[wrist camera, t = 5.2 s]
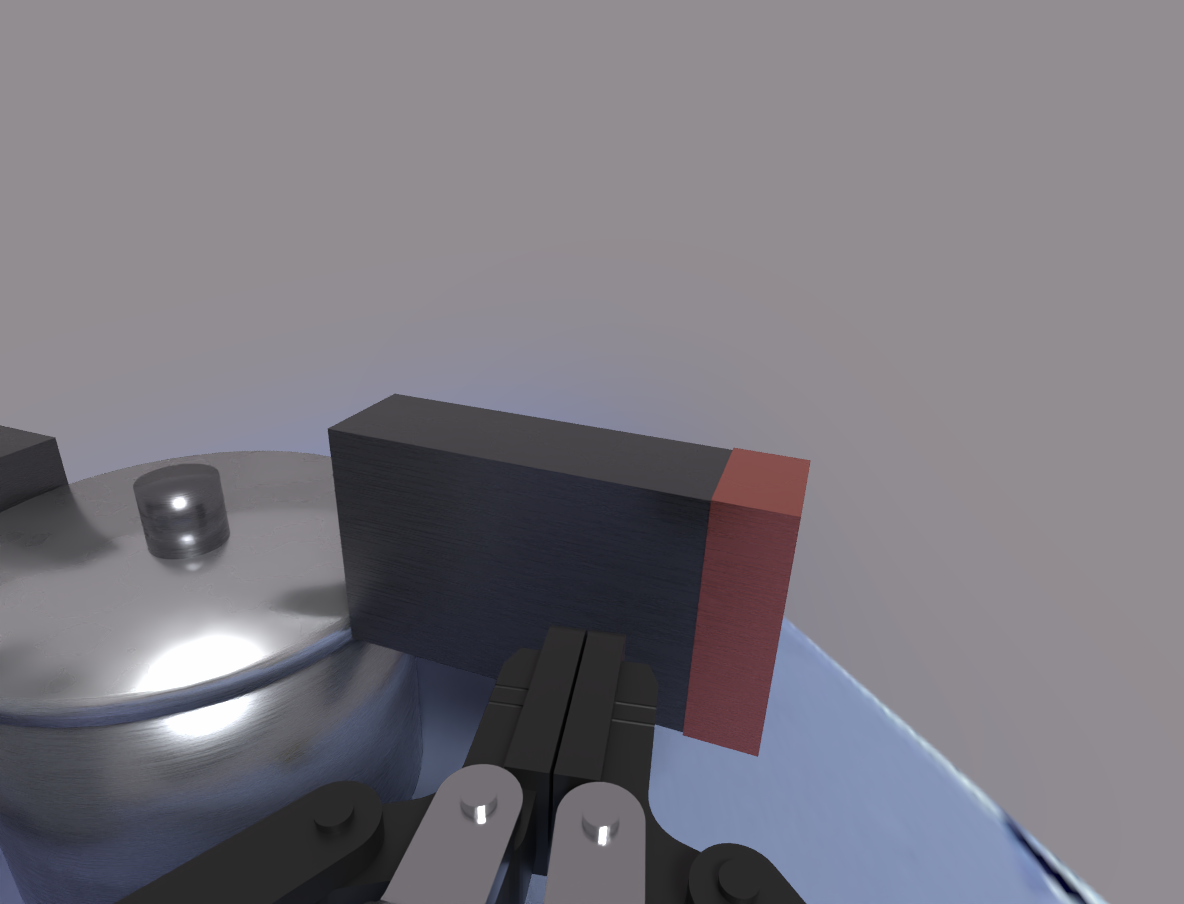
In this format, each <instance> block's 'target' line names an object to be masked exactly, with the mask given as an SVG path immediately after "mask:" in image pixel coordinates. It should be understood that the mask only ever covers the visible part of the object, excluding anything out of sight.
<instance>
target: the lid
mask: <svg viewBox="0 0 1184 904" xmlns="http://www.w3.org/2000/svg"><path fill="white" fill-rule="evenodd" d="M328 435H329V444H330V451H331V457H328V456H322V455H316V454H307V453H298V452H283V451H239V452H223V453H212V454H203V455H193V456H187V457H180V458H173V459H167V460H161V461H156V462H151V463H146V464H141V465H136V466H132V467H128V468H124V469H120V470H116V471H112V472H108V473H104V474H101V475H97V476H94V477H90V478H87V479H84V480H81V481H78V482H75V483H72V484H69V485H68V481H67V478H66V474H65V471H64V468H63V464H62V460H61V457H60V453H59V450H58V446H57V442H56V439H55V438H54V437H50V436H45V435H41V434H36V433H32V432H27V431H23V430H18V429H14V428H9V427H4V426H0V724H6V725H12V726H19V727H42V728H71V727H89V726H104V725H111V724H118V723H126V722H133V721H140V720H147V719H151V718H156V717H161V716H165V715H170V714H174V713H179V712H184V711H188V710H192V709H195V708H199V707H202V706H206V705H209V704H212V703H216V702H219V701H223V700H226V699H229V698H233V697H235V696H238V695H241V694H243V693H246V692H249V691H251V690H254V689H257V688H259V687H262V686H265V685H267V684H270V683H272V682H274V681H276V680H279V679H281V678H283V677H285V676H287V675H289V674H292V673H294V672H296V671H298V670H300V669H302V668H305V667H307V666H308V665H310V664H312V663H314V662H315V661H317V660H319V659H321V658H322V657H324V656H326V655H328V654H329V653H331V652H333V651H335V650H336V649H338V648H339V647H341V646H342V645H344V644H345V643H347V642H348V641H349V640H351V639H352V638H354V639H357V640H361V641H364V642H368V643H371V644H375V645H378V646H382V647H385V648H389V649H392V650H396V651H399V652H403V653H406V654H410V655H413V656H417V657H420V658H424V659H428V660H431V661H435V662H438V663H442V664H445V665H449V666H452V667H456V668H459V669H463V670H466V671H470V672H473V673H477V674H480V675H484V676H487V677H491V678H494V679H498V676H499V674H500V671H501V669H502V666H503V664H504V663H505V662H506V661H507V660H508V659H509V658H510V657H511V656H512V655H513V654H515V653H516V652H517V651H518V650H519V649H520V648H527V649H534V650H542V648H543V645H544V642H545V639H546V636H547V633H548V630H549V627H550V626H551V625H555V626H563V627H570V628H578V629H586V630H587V636H588V632H589V630H595V631H603V632H611V633H619V634H626V644H625V657H624V661H626V662H633V663H641V664H648V665H650V667H651V670H652V672H653V674H654V676H655V678H656V681H657V683H658V694H657V705H656V716H655V724H656V725H659V726H663V727H666V728H670V729H673V730H677V731H680V732H683V735H684V736H688V737H691V738H695V739H698V740H702V741H705V742H709V743H712V744H716V745H719V746H723V747H726V748H730V749H733V750H737V751H740V752H744V753H747V754H751V755H754V756H758V754H759V748H760V743H761V737H762V731H763V726H764V720H765V715H766V709H767V704H768V698H769V692H770V687H771V681H772V676H773V670H774V664H775V659H776V653H777V648H778V642H779V636H780V631H781V625H782V620H783V614H784V609H785V603H786V597H787V592H788V586H789V581H790V575H791V569H792V564H793V558H794V553H795V547H796V542H797V536H798V530H799V525H800V519H801V513H802V507H803V501H804V496H805V490H806V483H807V477H808V472H809V466H810V460H804V459H798V458H792V457H786V456H780V455H774V454H768V453H762V452H756V451H750V450H744V449H738V448H733V450H729V449H723V448H717V447H711V446H705V445H699V444H693V443H687V442H681V441H675V440H668V439H663V438H657V437H651V436H645V435H639V434H633V433H627V432H621V431H615V430H609V429H603V428H597V427H591V426H585V425H579V424H573V423H567V422H561V421H555V420H549V419H543V418H537V417H531V416H525V415H519V414H513V413H507V412H501V411H494V410H489V409H483V408H477V407H471V406H465V405H459V404H453V403H447V402H441V401H435V400H429V399H423V398H416V397H411V396H405V395H399V394H394V395H392V396H390V397H388V398H386V399H384V400H382V401H380V402H378V403H376V404H374V405H372V406H370V407H369V408H367V409H365V410H363V411H361V412H359V413H357V414H355V415H353V416H351V417H349V418H348V419H346V420H344V421H342V422H340V423H338V424H336V425H334V426H332V427H330V428H328Z"/></svg>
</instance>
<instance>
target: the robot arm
mask: <svg viewBox="0 0 1184 904" xmlns="http://www.w3.org/2000/svg"><path fill="white" fill-rule="evenodd" d="M625 644H626V634H619V633H611V632H603V631H595V630H589V632H588V636H587V630H586V629H578V628H570V627H563V626H555V625H551V626H550V627H549V630H548V633H547V636H546V639H545V642H544V645H543V648H542V650H534V649H527V648H520V649H519V650H518V651H517V652H516V653H515V654H513V655H512V656H511V657H510V658H509V659H508V660H507V661H506V662H505V663H504V664H503V666H502V669H501V671H500V674H499V676H498V679H497V682H496V685H495V688H494V689H493V692H492V694H491V697H490V699H489V704H488V705H487V707H486V709H485V712H484V714H483V717H482V720H481V722H480V725H479V727H478V730H477V732H476V735H475V737H474V740H473V742H472V745H471V747H470V750H469V753H468V755H467V758H466V760H465V763H464V765H463V767H462V769H460V770H458V771H456V772H454V773H453V774H451V775H450V776H449V777H448V778H446V780H445V781H444V782H443V783H442V784H441V786H440V787H439V789H438V790H437V792H436V793H434V794H431V795H429V796H426V797H423V798H419V799H414V800H408V801H400V802H393V803H385V804H382V803H381V800H380V797H379V796H378V794H377V793H376V792H375V791H374V790H373V789H372V788H371V787H369V786H368V785H366V784H364V783H361V782H357V781H337V782H332V783H329V784H326V785H323V786H321V787H319V788H317V789H315V790H313V791H311V792H310V793H308V794H306V795H304V796H303V797H301V798H299V799H297V800H295V801H294V802H292V803H290V804H288V805H287V806H285V807H283V808H281V809H280V810H278V811H276V812H274V813H272V814H271V815H269V816H267V817H265V818H264V819H262V820H260V821H258V822H257V823H255V824H253V825H251V826H250V827H248V828H246V829H244V830H242V831H241V832H239V833H237V834H235V835H234V836H232V837H230V838H228V839H227V840H225V841H223V842H221V843H219V844H218V845H216V846H214V847H212V848H211V849H209V850H207V851H205V852H204V853H202V854H200V855H198V856H197V857H195V858H193V859H191V860H189V861H188V862H186V863H184V864H182V865H181V866H179V867H177V868H175V869H174V870H172V871H170V872H168V873H166V874H165V875H163V876H161V877H159V878H158V879H156V880H154V881H152V882H151V883H149V884H147V885H145V886H144V887H142V888H140V889H138V890H136V891H135V892H133V893H131V894H129V895H128V896H126V897H124V898H122V899H121V900H119V901H117V902H115V903H113V904H524V903H525V900H526V895H527V891H528V887H529V883H530V879H531V875H532V874H537V875H543V876H547V873H548V877H547V884H546V891H545V898H544V904H806V903H805V902H804V901H803V899H802V898H801V897H800V896H799V895H798V893H797V892H796V891H795V890H794V889H793V887H792V886H791V885H790V884H789V883H788V881H787V880H786V879H785V878H784V877H783V876H782V874H781V873H780V872H779V871H778V870H777V868H776V867H775V866H774V865H773V864H772V863H771V862H770V861H769V860H768V859H767V858H766V857H764V856H763V855H762V854H760V853H759V852H757V851H755V850H753V849H751V848H749V847H746V846H743V845H739V844H732V843H722V844H717V845H713V846H711V847H709V848H707V849H705V850H704V851H702V852H699V851H697V850H695V849H693V848H691V847H689V846H687V845H685V844H683V843H681V842H679V841H678V840H676V839H674V838H673V837H671V836H670V835H669V834H668V833H666V832H665V831H664V830H663V829H662V828H661V826H660V825H659V824H658V823H657V821H656V820H655V818H654V816H653V814H652V812H651V809H650V806H649V800H648V790H649V780H650V769H651V758H652V748H653V737H654V726H655V716H656V705H657V694H658V683H657V681H656V678H655V676H654V674H653V672H652V670H651V667H650V665H648V664H641V663H633V662H626V661H624V657H625Z"/></svg>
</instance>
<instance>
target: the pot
mask: <svg viewBox="0 0 1184 904" xmlns="http://www.w3.org/2000/svg"><path fill="white" fill-rule="evenodd" d="M422 753H423V747H422V733H421V719H420V705H419V691H418V677H417V664H416V656H413V655H410V654H406V653H403V652H399V651H396V650H392V649H389V648H385V647H382V646H378V645H375V644H371V643H368V642H364V641H361V640H357V639H354V638H352V639H351V640H349V641H348V642H347V643H345V644H344V645H342V646H341V647H339V648H338V649H336V650H335V651H333V652H331V653H329V654H328V655H326V656H324V657H322V658H321V659H319V660H317V661H315V662H314V663H312V664H310V665H308V666H307V667H305V668H302V669H300V670H298V671H296V672H294V673H292V674H289V675H287V676H285V677H283V678H281V679H279V680H276V681H274V682H272V683H270V684H267V685H265V686H262V687H259V688H257V689H254V690H251V691H249V692H246V693H243V694H241V695H238V696H235V697H233V698H229V699H226V700H223V701H219V702H216V703H212V704H209V705H206V706H202V707H199V708H195V709H192V710H188V711H184V712H179V713H174V714H170V715H165V716H161V717H156V718H151V719H147V720H140V721H133V722H126V723H118V724H111V725H104V726H89V727H71V728H42V727H19V726H12V725H6V724H0V847H1V849H2V851H3V854H4V856H5V858H6V861H7V863H8V866H9V868H10V870H11V873H12V875H13V878H14V880H15V882H16V885H17V887H18V890H19V892H20V894H21V897H22V899H23V901H24V903H25V904H113V903H115V902H117V901H119V900H121V899H122V898H124V897H126V896H128V895H129V894H131V893H133V892H135V891H136V890H138V889H140V888H142V887H144V886H145V885H147V884H149V883H151V882H152V881H154V880H156V879H158V878H159V877H161V876H163V875H165V874H166V873H168V872H170V871H172V870H174V869H175V868H177V867H179V866H181V865H182V864H184V863H186V862H188V861H189V860H191V859H193V858H195V857H197V856H198V855H200V854H202V853H204V852H205V851H207V850H209V849H211V848H212V847H214V846H216V845H218V844H219V843H221V842H223V841H225V840H227V839H228V838H230V837H232V836H234V835H235V834H237V833H239V832H241V831H242V830H244V829H246V828H248V827H250V826H251V825H253V824H255V823H257V822H258V821H260V820H262V819H264V818H265V817H267V816H269V815H271V814H272V813H274V812H276V811H278V810H280V809H281V808H283V807H285V806H287V805H288V804H290V803H292V802H294V801H295V800H297V799H299V798H301V797H303V796H304V795H306V794H308V793H310V792H311V791H313V790H315V789H317V788H319V787H321V786H323V785H326V784H329V783H332V782H337V781H357V782H361V783H364V784H366V785H368V786H369V787H371V788H372V789H373V790H374V791H375V792H376V793H377V794H378V796H379V797H380V800H381V803H382V804H385V803H393V802H400V801H408V800H411V797H412V795H413V793H414V790H415V788H416V785H417V781H418V777H419V773H420V770H421V762H422Z"/></svg>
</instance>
